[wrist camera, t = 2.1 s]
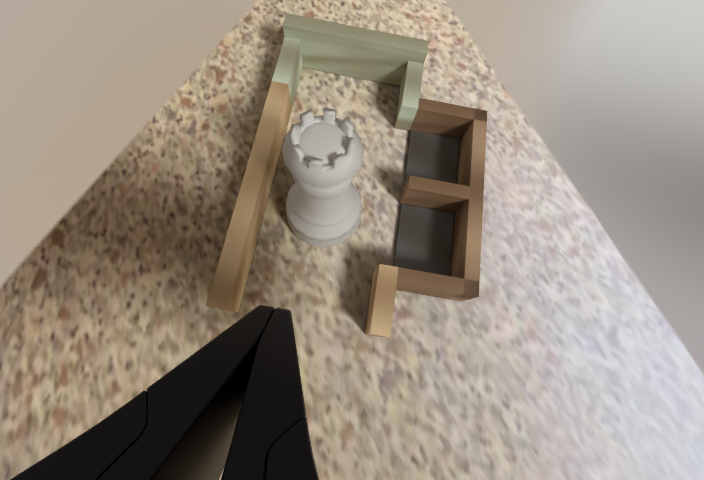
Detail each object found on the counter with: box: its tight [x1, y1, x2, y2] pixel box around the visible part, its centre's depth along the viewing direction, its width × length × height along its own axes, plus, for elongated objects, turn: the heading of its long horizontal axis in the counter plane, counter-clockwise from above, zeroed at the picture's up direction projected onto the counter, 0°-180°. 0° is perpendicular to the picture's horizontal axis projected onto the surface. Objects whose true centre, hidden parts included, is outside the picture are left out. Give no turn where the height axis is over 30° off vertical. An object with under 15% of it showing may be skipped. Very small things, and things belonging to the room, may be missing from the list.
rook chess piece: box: [282, 108, 364, 247], centre depth 16 cm, size 4×4×8 cm
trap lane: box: [206, 13, 487, 337], centre depth 19 cm, size 18×13×3 cm
